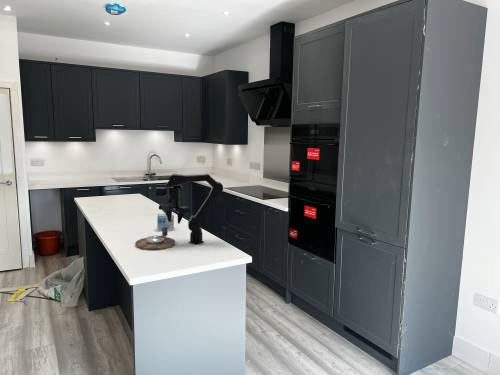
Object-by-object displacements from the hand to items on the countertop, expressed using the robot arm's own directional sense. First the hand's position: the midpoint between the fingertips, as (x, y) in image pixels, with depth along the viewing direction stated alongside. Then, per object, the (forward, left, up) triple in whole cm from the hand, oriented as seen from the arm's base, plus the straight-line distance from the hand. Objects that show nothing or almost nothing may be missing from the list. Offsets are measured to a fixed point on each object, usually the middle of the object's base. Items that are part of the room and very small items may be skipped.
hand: (174, 222), depth 218 cm
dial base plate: (+7, +8, -12) cm, 16 cm away
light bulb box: (+24, -20, -12) cm, 34 cm away
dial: (+7, +6, -10) cm, 14 cm away
